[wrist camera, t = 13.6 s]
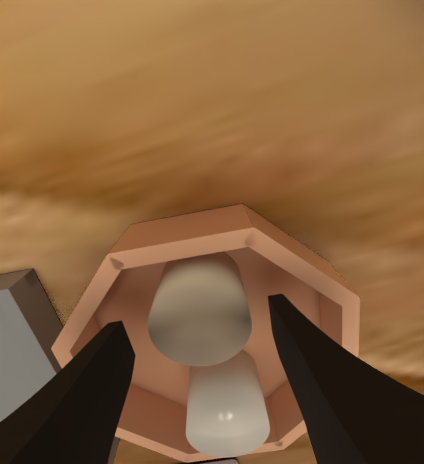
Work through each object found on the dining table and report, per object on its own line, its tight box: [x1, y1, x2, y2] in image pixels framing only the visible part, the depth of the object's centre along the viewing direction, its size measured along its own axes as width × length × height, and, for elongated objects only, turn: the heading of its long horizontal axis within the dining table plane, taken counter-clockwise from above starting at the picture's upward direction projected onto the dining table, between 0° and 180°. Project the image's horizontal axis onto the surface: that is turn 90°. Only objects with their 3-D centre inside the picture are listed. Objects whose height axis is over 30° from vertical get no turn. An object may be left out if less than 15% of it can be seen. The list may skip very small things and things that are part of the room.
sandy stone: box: [148, 251, 252, 366], centre depth 13 cm, size 4×4×4 cm
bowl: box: [51, 204, 360, 463], centre depth 15 cm, size 15×15×4 cm
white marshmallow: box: [186, 350, 270, 458], centre depth 15 cm, size 4×4×4 cm
